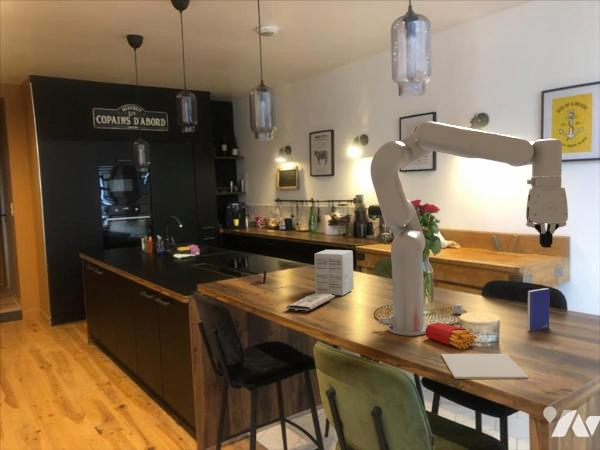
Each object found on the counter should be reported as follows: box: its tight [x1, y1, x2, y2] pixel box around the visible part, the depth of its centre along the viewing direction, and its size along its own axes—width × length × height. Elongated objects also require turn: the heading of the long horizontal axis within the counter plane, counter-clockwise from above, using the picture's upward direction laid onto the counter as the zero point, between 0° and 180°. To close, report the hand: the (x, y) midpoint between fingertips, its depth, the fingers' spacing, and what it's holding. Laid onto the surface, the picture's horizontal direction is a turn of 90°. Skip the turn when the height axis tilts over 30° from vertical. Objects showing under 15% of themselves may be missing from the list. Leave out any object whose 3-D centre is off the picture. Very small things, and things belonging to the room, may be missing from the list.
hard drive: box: [527, 287, 551, 332], centre depth 156 cm, size 2×8×12 cm, turn 114°
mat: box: [440, 353, 530, 380], centre depth 127 cm, size 17×16×1 cm
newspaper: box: [285, 293, 336, 312], centre depth 197 cm, size 23×12×2 cm, turn 153°
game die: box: [452, 303, 464, 315], centre depth 178 cm, size 4×4×3 cm
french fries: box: [425, 322, 478, 350], centre depth 146 cm, size 9×4×13 cm
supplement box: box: [314, 249, 355, 296], centre depth 219 cm, size 13×13×18 cm
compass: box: [250, 269, 267, 286], centre depth 237 cm, size 8×8×7 cm
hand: (545, 246), depth 145 cm, fingers closed
